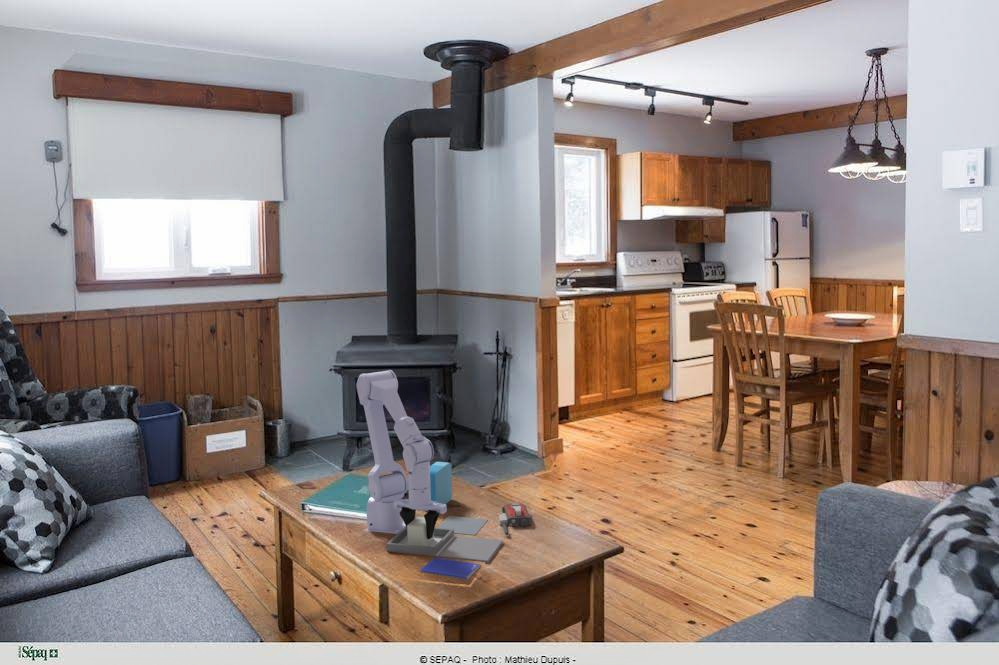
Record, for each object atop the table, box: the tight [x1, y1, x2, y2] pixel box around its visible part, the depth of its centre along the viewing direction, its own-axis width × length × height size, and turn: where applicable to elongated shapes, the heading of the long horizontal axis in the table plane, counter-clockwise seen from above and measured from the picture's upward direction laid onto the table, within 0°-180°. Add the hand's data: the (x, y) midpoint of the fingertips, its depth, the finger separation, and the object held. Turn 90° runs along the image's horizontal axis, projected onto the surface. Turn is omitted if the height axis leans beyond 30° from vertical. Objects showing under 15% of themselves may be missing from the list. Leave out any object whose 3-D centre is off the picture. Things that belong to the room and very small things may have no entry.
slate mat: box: [436, 515, 489, 536], centre depth 220 cm, size 12×12×1 cm
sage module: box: [407, 515, 434, 546], centre depth 207 cm, size 4×7×6 cm, turn 164°
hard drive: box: [420, 557, 482, 580], centre depth 192 cm, size 2×8×12 cm
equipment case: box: [385, 526, 504, 564], centre depth 206 cm, size 27×14×2 cm, turn 74°
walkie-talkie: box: [498, 502, 532, 536], centre depth 222 cm, size 9×4×20 cm
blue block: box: [430, 461, 453, 505], centre depth 238 cm, size 12×4×12 cm, turn 161°
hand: (420, 536), depth 207 cm, fingers closed on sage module, 5 cm apart
